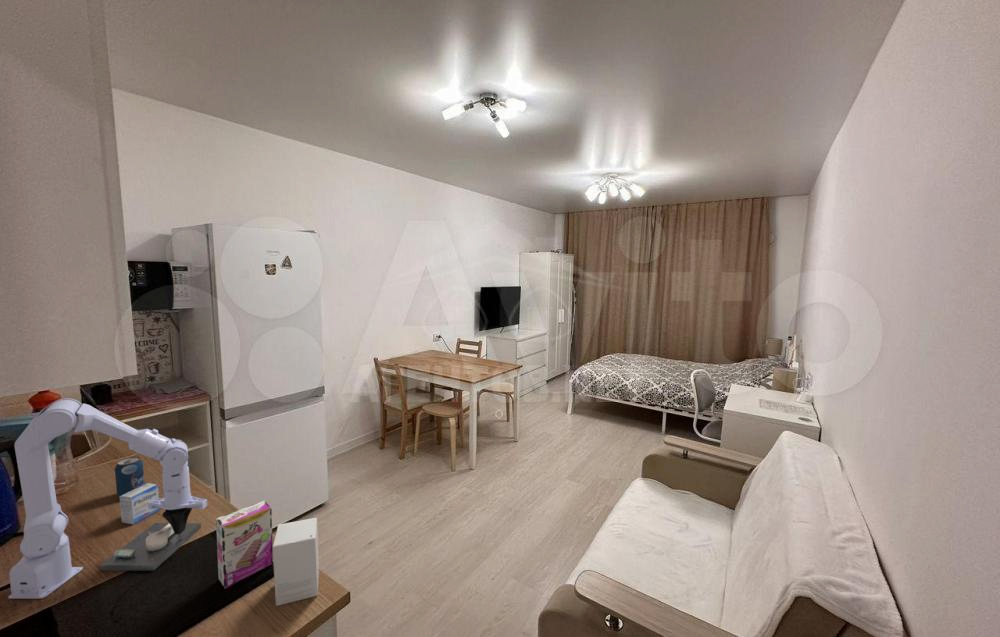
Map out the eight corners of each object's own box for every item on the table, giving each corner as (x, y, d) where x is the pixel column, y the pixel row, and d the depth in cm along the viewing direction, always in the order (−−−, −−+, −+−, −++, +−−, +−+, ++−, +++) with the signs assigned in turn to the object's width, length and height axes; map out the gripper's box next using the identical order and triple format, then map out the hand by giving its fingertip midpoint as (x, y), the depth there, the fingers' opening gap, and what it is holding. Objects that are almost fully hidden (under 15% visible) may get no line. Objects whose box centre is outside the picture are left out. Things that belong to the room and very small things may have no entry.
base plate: (153, 570, 103) (152, 558, 102) (100, 570, 102) (99, 558, 102) (200, 528, 120) (200, 517, 119) (155, 527, 119) (154, 517, 119)
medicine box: (133, 525, 120) (130, 497, 119) (121, 523, 121) (118, 495, 120) (160, 510, 128) (158, 484, 127) (148, 508, 129) (146, 482, 128)
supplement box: (319, 570, 104) (318, 516, 103) (317, 596, 96) (316, 538, 94) (280, 579, 101) (277, 523, 99) (274, 607, 93) (271, 546, 91)
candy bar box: (225, 590, 97) (221, 527, 95) (218, 580, 100) (214, 518, 98) (274, 565, 106) (272, 506, 104) (266, 556, 109) (264, 499, 107)
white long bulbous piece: (159, 551, 107) (158, 541, 107) (142, 551, 107) (141, 541, 107) (184, 529, 116) (184, 519, 116) (169, 529, 116) (168, 519, 116)
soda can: (139, 498, 134) (137, 463, 132) (113, 501, 131) (109, 466, 130) (148, 487, 140) (146, 454, 139) (123, 490, 138) (120, 457, 136)
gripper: (213, 478, 116) (216, 523, 117) (161, 478, 115) (164, 522, 117) (195, 492, 109) (198, 539, 110) (140, 491, 108) (144, 538, 110)
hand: (180, 531), depth 113 cm, fingers closed
